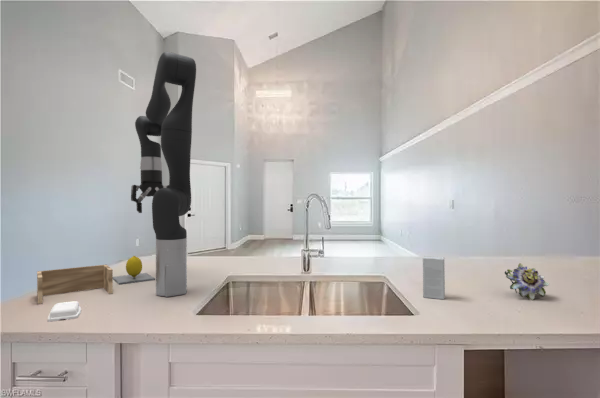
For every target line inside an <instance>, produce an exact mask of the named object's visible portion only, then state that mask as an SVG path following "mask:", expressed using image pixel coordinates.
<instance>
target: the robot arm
mask: <svg viewBox="0 0 600 398" xmlns="http://www.w3.org/2000/svg"><path fill="white" fill-rule="evenodd" d="M196 78H197V63H196V61H195V59H194V58H193V57H189V56H185V55H181V54H178V53H174V52H170V51H163V52H162V53H161V55H160V57H159V58H158V62H157V65H156V71H155V76H154V81H153V85H152V93H151V96H150V100H149V101H148V104H147V107H146V109H145V115H139V116H138V117H137V118H136V119H135V122H134V128H135V131H136V134H137V137H138V140H139V145H140V162H139V163H140V167H139V169H140V185H137V184H132V185H131V190H130V201H131V202H134V203H136V211H137V212H138V214H142V213H143V206H142V205H143V203H142V202H143V201H144V199H145V198H146V197H152V201H151V213H152V214H151V215H152V218H151V219H152V229H153V231H154V233H155V294H156V295H157V296H160V297H165V298H169V297H175V296H180V295H181V296H182V295H186V294H187V292H188V291H187V289H188V285H187V281H188V279H187V277H188V275H187V273H188V270H187V269H188V267H187V266H188V265H187V261H188V260H187V255H188V254H187V253H188V252H187V249H188V248H187V245H188V244H187V242H188V241H187V239H188V238H187V237H188V235H187V234H188V233H187V229H186V228H184V227H183V226H182V225H181V223H180V217H182V216H184V215H186V214H187V213H188V212H189V210H190V209H191V206H192V205H191V204H192V189H191V154H192V153H191V152H192V140H193V139H192V133H193V106H194V105H193V104H194V96H195V89H196V88H195V86H196V80H197V79H196ZM166 83H167V84H172V85H175V86H176V85H177V86H181V92H180V96H179V98H178V100H177V102H176V103H175V105H174V107H173V108H171V105H172V103H171V98H170V95H169V93H168V91H167V89H166ZM170 109H171V110H170ZM148 136H149V137H160V143H159V142H156V141H154V140H151V139H150V138H149V137H148ZM162 155H163V158H164V160H165V163H166V166H167V168H168V172H169V173H168V175H169V176H168V177H169V179H168V180H169V181H168V182H169V183H168V185H163V163H162ZM139 190H140V191H141V193H140V194H139V196H138V198H137V191H139Z"/></svg>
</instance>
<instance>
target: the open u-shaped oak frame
mask: <svg viewBox="0 0 600 398" xmlns="http://www.w3.org/2000/svg"><path fill="white" fill-rule="evenodd" d="M113 275H114V274H113V269H112V268H111V267H110V266H109V265H108V264H98V265H89V266H78V267H68V268H59V269H58V268H57V269H48V270H39V271H38V270H37V271H36V297H37V304H38V305H42V304H43V297H44V296H52V295H59V294H66V293H73V292H80V291H81V292H82V291H88V290H89V289H90V290H95V289H104V290H105V291H106V292H107V293H108V295H111V294H112V295H113V292H114V291H113V289H114V288H113V286H114V285H113V281H114V279H113V277H114V276H113Z"/></svg>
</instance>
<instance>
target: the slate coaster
mask: <svg viewBox="0 0 600 398" xmlns="http://www.w3.org/2000/svg"><path fill="white" fill-rule="evenodd" d="M113 281H114V282H115V283H117V284H118V285H126V284H133V283H134V284H135V283H143V282H149V281H156V277H154V276H152V275H150V274H149V273H148V272H142V273H141V272H140V274H138V275H137V276H136V277H132V276H131V275H129V274H125V275H118V276H117V275H116V276H113Z"/></svg>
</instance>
